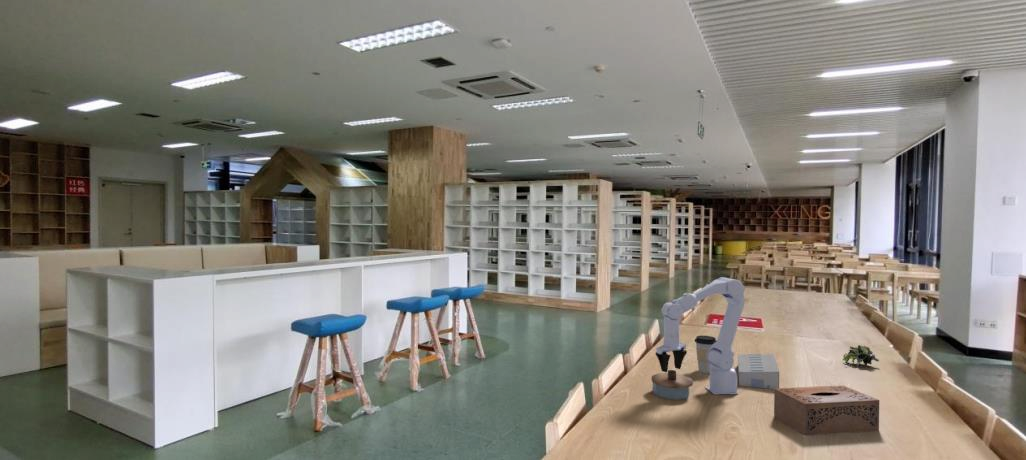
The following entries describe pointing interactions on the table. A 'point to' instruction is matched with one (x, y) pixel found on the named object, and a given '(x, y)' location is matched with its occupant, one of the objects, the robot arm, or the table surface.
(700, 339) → the coffee cup
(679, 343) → the robot arm
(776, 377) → the warehouse
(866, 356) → the green leafy clump
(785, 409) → the tissue box cover
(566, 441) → the table surface
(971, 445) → the table surface
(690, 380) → the lid
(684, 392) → the bowl
